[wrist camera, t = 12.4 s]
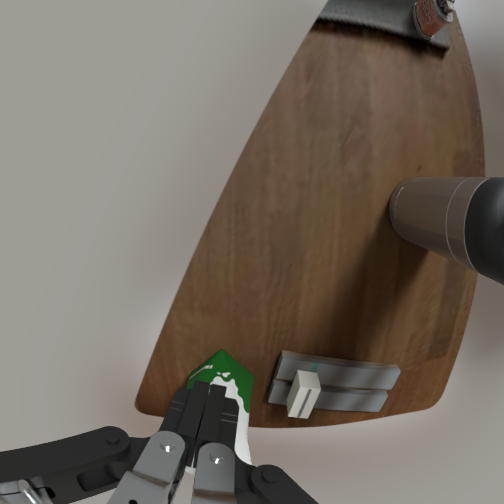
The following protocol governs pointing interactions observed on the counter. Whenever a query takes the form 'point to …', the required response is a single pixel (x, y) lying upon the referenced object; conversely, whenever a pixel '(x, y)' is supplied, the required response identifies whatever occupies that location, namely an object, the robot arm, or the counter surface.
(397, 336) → the counter surface
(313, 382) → the slider knob
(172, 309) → the counter surface
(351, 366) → the slider panel
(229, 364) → the milk carton
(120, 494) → the robot arm
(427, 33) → the lighter
